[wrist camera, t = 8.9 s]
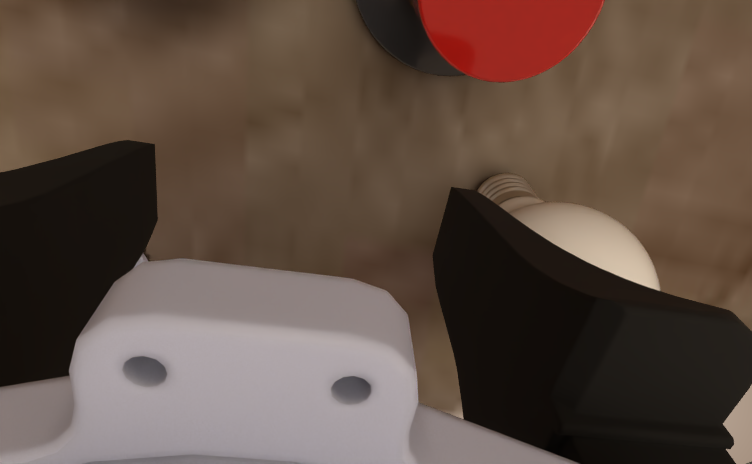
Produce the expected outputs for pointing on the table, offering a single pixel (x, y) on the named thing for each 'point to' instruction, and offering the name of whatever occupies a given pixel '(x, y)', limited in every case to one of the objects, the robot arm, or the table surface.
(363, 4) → the coaster
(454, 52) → the jar
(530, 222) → the lightbulb
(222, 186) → the table surface
